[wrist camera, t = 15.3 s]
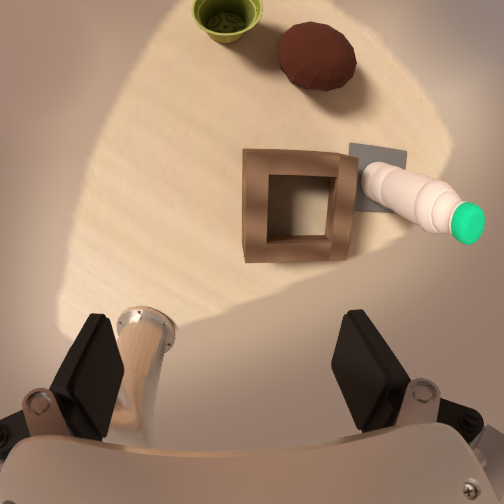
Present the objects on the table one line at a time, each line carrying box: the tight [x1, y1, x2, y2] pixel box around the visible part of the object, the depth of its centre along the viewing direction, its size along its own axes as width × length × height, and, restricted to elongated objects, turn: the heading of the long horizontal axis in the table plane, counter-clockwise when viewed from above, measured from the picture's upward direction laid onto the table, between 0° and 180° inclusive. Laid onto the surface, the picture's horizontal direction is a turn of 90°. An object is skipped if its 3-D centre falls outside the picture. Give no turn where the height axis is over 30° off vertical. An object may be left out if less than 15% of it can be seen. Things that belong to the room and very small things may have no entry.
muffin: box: [277, 22, 357, 91], centre depth 34 cm, size 12×11×10 cm
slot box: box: [242, 149, 359, 263], centre depth 44 cm, size 16×16×8 cm
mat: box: [349, 143, 407, 212], centre depth 47 cm, size 12×12×1 cm
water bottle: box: [361, 162, 485, 245], centre depth 36 cm, size 7×7×25 cm
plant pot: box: [191, 0, 263, 43], centre depth 31 cm, size 9×9×9 cm
